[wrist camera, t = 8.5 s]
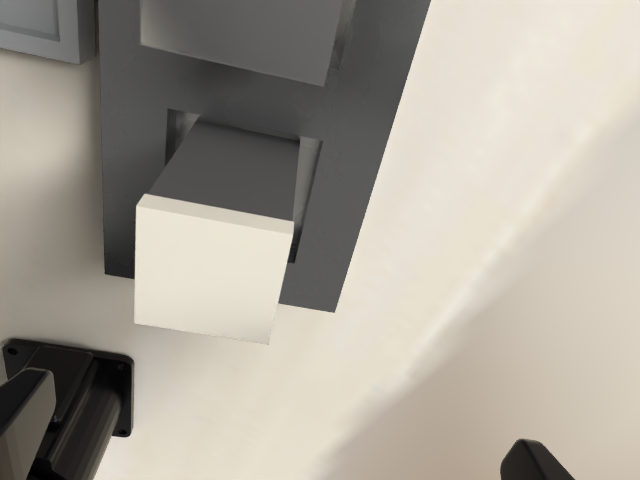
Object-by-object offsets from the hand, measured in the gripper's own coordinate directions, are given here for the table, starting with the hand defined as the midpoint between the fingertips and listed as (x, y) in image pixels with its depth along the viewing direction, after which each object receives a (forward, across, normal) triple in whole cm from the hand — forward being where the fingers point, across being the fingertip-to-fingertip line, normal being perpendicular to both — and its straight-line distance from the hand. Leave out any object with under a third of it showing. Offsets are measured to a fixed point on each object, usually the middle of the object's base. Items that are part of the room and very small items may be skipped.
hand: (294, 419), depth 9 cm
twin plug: (+12, +2, +1) cm, 12 cm away
